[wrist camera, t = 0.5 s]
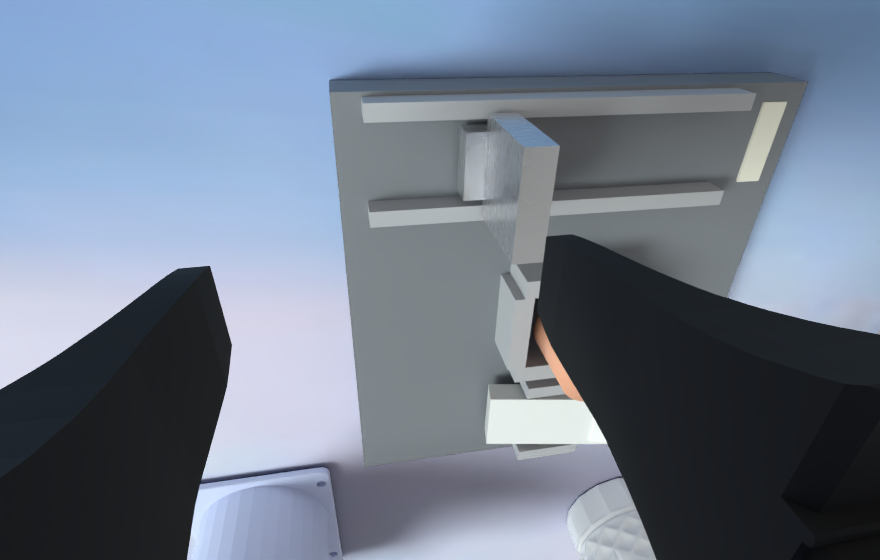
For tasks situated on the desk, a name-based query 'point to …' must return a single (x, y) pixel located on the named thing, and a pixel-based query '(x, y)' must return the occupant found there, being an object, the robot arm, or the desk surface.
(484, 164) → the grey boxy piece
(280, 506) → the robot arm
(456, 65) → the desk surface
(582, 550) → the white cup
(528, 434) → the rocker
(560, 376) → the push button
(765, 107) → the panel
